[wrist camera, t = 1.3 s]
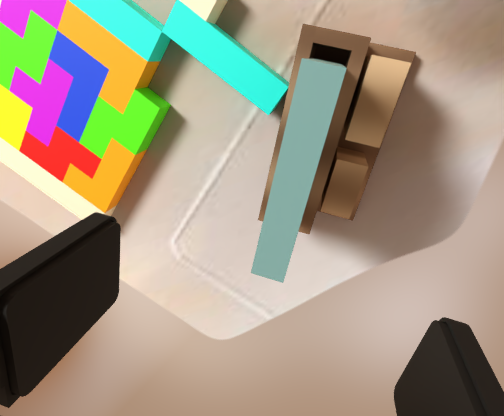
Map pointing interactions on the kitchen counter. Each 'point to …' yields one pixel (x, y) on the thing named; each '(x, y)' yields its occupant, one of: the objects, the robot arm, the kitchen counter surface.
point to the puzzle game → (102, 89)
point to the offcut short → (343, 182)
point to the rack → (352, 57)
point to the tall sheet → (297, 163)
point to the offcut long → (374, 99)
